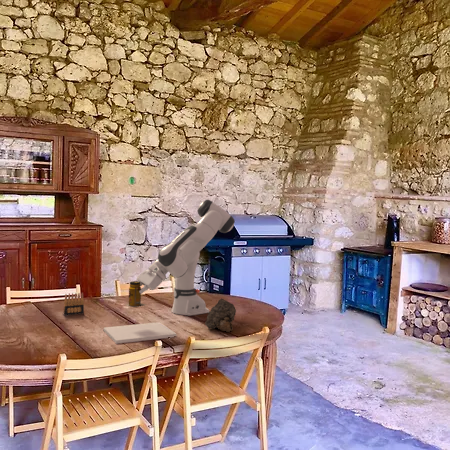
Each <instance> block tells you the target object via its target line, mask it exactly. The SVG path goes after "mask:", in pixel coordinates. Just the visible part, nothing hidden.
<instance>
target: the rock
mask: <svg viewBox="0 0 450 450" xmlns="http://www.w3.org/2000/svg"><path fill="white" fill-rule="evenodd" d="M236 313H237V309H236V307H235V305H234V304H233V303H231V302H229V301H228V300H226V299H224V298H221V299H219V300H218V301H217V303H216V304H214V306H212V307H211V309H210V310H209V313H207V315H206V321H204V322H205V323H204V324H205V326H206V327H207V329H208V330H214V329H217V328H218V330H220V331H222V332H224V331H226V332H225V333H230V331H231V332H232V331H233V330H234V329H233V327H234V326H233V321H234V320H235V316H236Z"/></svg>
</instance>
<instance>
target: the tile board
mask: <svg viewBox="0 0 450 450" xmlns="http://www.w3.org/2000/svg"><path fill="white" fill-rule="evenodd" d="M102 329H103V332H104V333H105V334H106V335H107V336H108V337H109V339H111V340H112V341H113V342H114V344H124V343H125V344H126V343H132V342H141V341H142V342H143V341H150V340H151V341H152V340H160V339H169V338H168V337H170V338H175V337H174V336H176V337H177V335H178V334H177V333H176V332H175V331H174V330H172V329H170V328H169V327H168V326H166V325H164V324H163V323H162V322H159V321H158V322H148V323H136V324H128V325H125V324H124V325H117V326H108V327H107V326H105V327H103V328H102Z"/></svg>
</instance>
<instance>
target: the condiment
mask: <svg viewBox="0 0 450 450" xmlns="http://www.w3.org/2000/svg"><path fill="white" fill-rule="evenodd" d="M140 289H142V286H140V282H139V281H138V280H134V281H130V282H129V287H128V304H126V306H127V307H131V308H138V307H139V308H140V307H143V306H146V304H145V303H142V302H141V301H142V294H140V293H139V290H140Z"/></svg>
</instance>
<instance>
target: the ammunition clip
mask: <svg viewBox="0 0 450 450" xmlns="http://www.w3.org/2000/svg"><path fill="white" fill-rule="evenodd" d="M84 301H85V300H84V293H83V292H81V294H80V292H78V293H76V292H75V293H73V292H72V293H71V294H70V293H68V294H67V293H65V295H64V301H63V302H64V304H63V305H64V306H63V316H73V315H84V314H85V310H84Z"/></svg>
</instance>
